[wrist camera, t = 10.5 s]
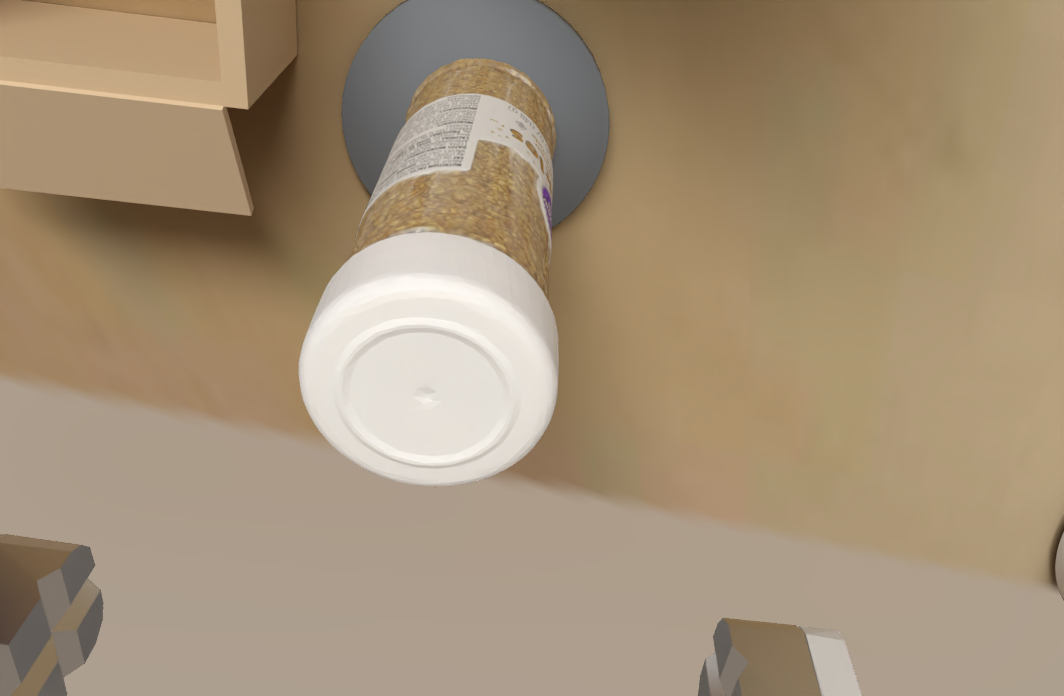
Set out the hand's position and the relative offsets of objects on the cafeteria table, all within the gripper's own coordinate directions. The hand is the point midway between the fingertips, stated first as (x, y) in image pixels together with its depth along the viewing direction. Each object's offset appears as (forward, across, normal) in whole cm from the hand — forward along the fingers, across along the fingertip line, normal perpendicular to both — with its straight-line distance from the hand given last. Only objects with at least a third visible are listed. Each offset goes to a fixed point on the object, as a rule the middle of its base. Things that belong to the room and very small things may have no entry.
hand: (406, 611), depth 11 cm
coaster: (+18, -1, 0) cm, 18 cm away
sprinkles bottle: (+18, -1, 0) cm, 18 cm away
